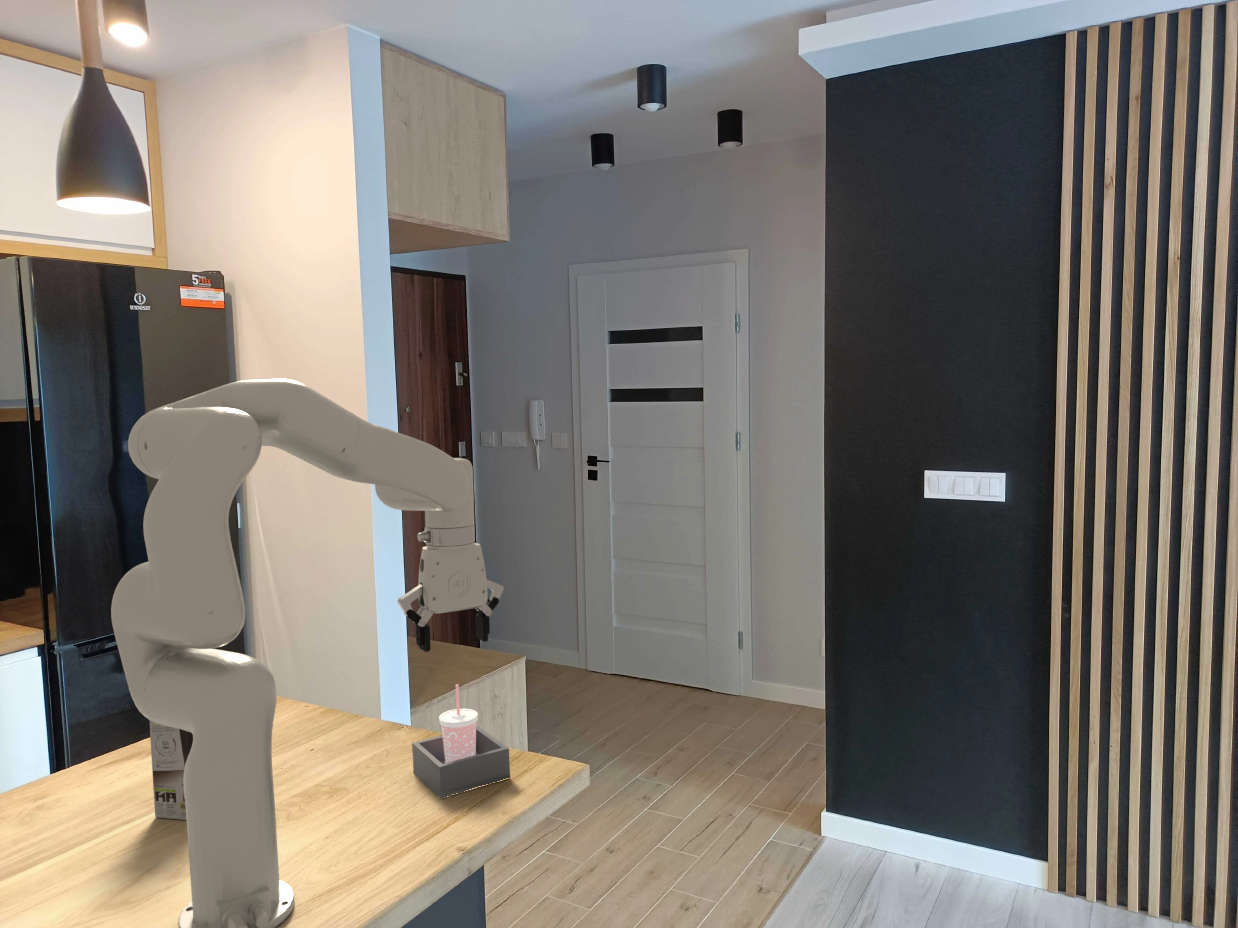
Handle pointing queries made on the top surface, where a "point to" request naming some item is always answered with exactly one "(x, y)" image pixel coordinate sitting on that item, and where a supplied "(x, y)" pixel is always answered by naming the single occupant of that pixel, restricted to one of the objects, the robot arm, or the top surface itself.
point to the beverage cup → (458, 732)
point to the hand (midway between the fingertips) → (453, 644)
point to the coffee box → (169, 769)
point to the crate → (460, 765)
